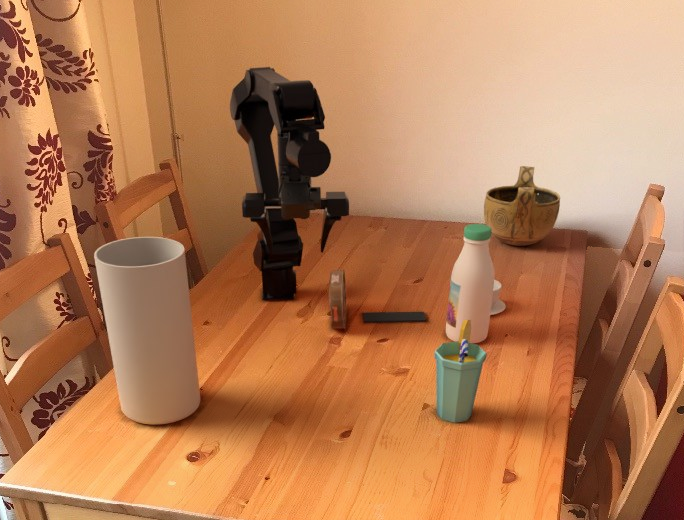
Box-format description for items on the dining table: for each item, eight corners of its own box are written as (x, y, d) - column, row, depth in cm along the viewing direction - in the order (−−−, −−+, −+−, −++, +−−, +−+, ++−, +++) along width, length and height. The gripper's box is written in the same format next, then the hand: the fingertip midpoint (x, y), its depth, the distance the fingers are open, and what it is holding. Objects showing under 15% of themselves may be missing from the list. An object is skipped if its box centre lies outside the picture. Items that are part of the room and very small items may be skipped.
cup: (481, 442, 117) (494, 349, 109) (429, 439, 118) (437, 347, 109) (477, 396, 129) (488, 308, 120) (429, 393, 129) (436, 306, 120)
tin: (344, 336, 147) (345, 293, 142) (327, 336, 147) (327, 292, 142) (346, 304, 159) (347, 263, 154) (331, 303, 159) (331, 262, 154)
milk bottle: (492, 331, 148) (506, 223, 136) (480, 348, 143) (494, 236, 131) (452, 324, 151) (462, 217, 139) (439, 340, 145) (449, 230, 134)
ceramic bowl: (553, 260, 178) (565, 191, 169) (477, 255, 181) (485, 187, 172) (552, 229, 195) (563, 165, 187) (482, 224, 198) (490, 161, 190)
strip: (363, 322, 152) (363, 320, 151) (362, 314, 155) (362, 312, 155) (426, 321, 152) (426, 319, 152) (423, 313, 155) (423, 311, 155)
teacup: (474, 293, 163) (477, 271, 160) (515, 306, 157) (518, 284, 155) (444, 307, 157) (446, 284, 155) (485, 321, 152) (488, 298, 149)
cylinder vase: (114, 396, 129) (86, 243, 114) (188, 381, 133) (171, 232, 118) (131, 433, 120) (103, 272, 105) (210, 416, 124) (194, 259, 109)
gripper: (237, 176, 130) (243, 269, 139) (351, 174, 130) (350, 267, 139) (241, 159, 139) (246, 247, 148) (347, 157, 139) (346, 245, 148)
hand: (296, 252), depth 146 cm, fingers open, 9 cm apart
